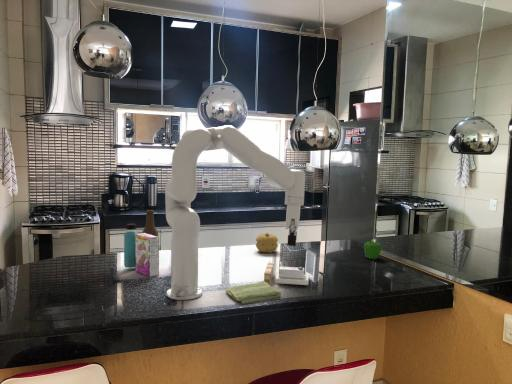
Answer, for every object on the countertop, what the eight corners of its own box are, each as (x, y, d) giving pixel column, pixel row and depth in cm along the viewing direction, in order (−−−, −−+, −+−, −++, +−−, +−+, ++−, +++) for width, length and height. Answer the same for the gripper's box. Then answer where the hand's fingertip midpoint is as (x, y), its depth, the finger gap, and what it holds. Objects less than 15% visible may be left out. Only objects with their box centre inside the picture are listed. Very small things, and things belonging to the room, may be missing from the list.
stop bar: (279, 278, 165) (279, 265, 165) (303, 279, 164) (304, 266, 164) (278, 281, 161) (279, 267, 161) (303, 282, 160) (304, 269, 160)
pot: (280, 250, 216) (281, 232, 215) (272, 255, 205) (273, 236, 204) (260, 248, 221) (261, 230, 220) (252, 252, 210) (252, 233, 209)
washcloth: (223, 293, 147) (223, 285, 147) (266, 287, 155) (266, 279, 155) (238, 306, 136) (238, 296, 135) (283, 298, 144) (283, 290, 143)
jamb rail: (270, 286, 156) (270, 273, 155) (263, 285, 156) (264, 273, 156) (273, 274, 172) (273, 263, 171) (267, 274, 172) (268, 262, 171)
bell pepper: (366, 255, 209) (367, 236, 209) (382, 258, 205) (383, 238, 204) (360, 258, 203) (361, 239, 202) (377, 261, 198) (377, 241, 197)
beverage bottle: (134, 271, 171) (134, 225, 169) (120, 270, 172) (120, 224, 171) (142, 267, 177) (142, 223, 176) (128, 266, 179) (128, 222, 177)
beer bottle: (161, 259, 192) (162, 210, 190) (149, 263, 185) (149, 211, 183) (150, 257, 196) (150, 208, 194) (138, 260, 189) (137, 210, 187)
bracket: (308, 285, 158) (308, 280, 158) (275, 283, 160) (275, 278, 160) (308, 279, 166) (308, 275, 165) (276, 277, 167) (276, 273, 167)
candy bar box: (134, 272, 171) (134, 234, 169) (145, 269, 175) (144, 232, 173) (149, 277, 163) (149, 238, 162) (159, 275, 167) (159, 236, 166)
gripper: (285, 198, 169) (283, 238, 170) (283, 202, 152) (281, 246, 153) (303, 199, 168) (301, 239, 169) (303, 203, 151) (301, 248, 152)
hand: (291, 243), depth 161 cm, fingers open, 9 cm apart
